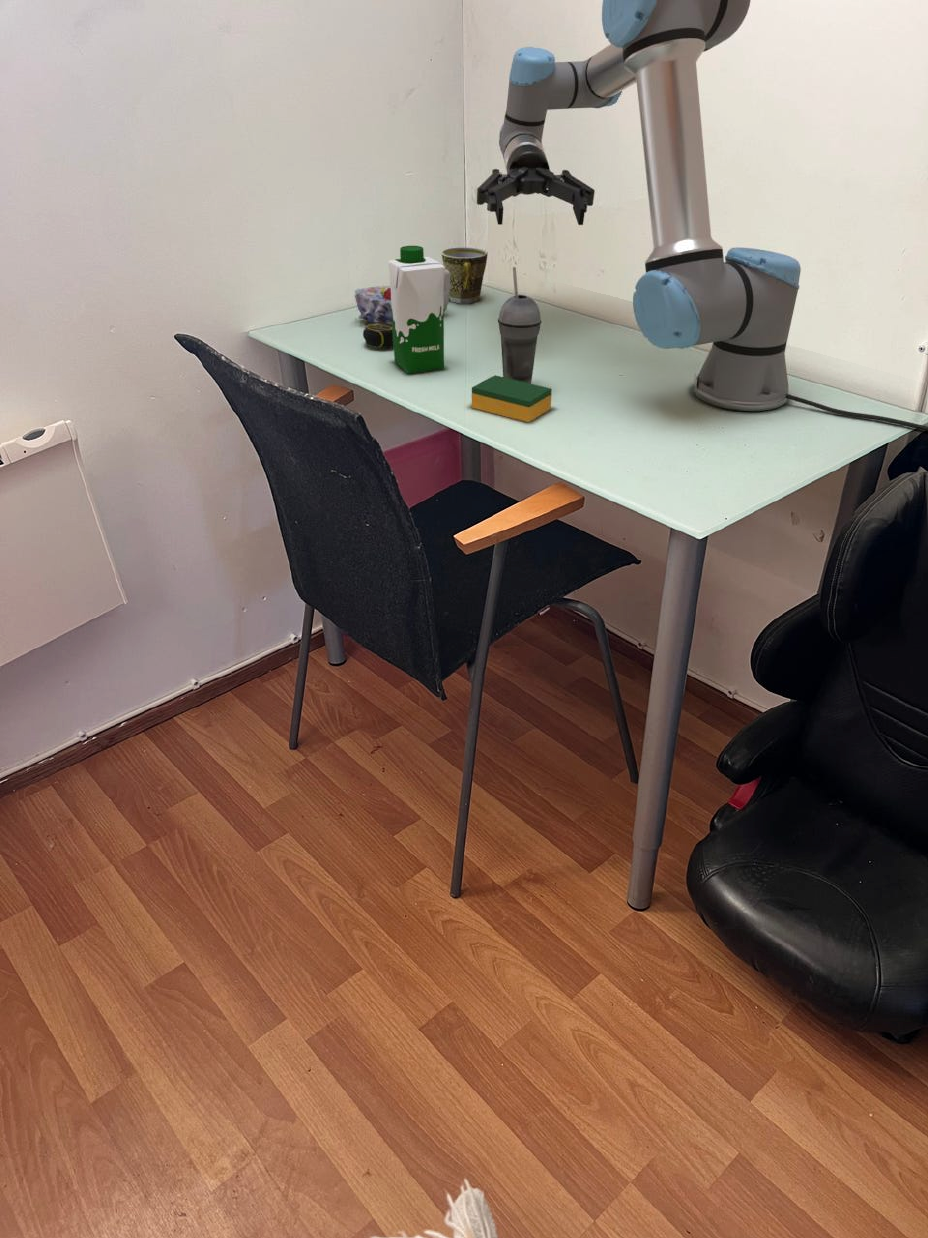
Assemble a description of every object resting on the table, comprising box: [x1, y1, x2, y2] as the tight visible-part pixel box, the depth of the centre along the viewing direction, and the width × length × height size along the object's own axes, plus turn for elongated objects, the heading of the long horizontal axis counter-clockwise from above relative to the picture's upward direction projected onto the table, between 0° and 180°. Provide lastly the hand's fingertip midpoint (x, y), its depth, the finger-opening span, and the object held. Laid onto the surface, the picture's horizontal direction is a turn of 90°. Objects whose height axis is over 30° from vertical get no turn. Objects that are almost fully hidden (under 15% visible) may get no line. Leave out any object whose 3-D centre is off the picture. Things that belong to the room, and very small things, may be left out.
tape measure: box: [362, 322, 393, 349], centre depth 176 cm, size 7×7×4 cm
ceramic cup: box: [441, 246, 489, 305], centre depth 199 cm, size 13×10×10 cm
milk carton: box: [388, 245, 445, 375], centre depth 161 cm, size 9×9×20 cm
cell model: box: [354, 269, 450, 325], centre depth 188 cm, size 13×11×20 cm
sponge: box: [471, 375, 553, 423], centre depth 149 cm, size 11×7×4 cm, turn 55°
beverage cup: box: [497, 266, 543, 384], centre depth 152 cm, size 7×7×20 cm
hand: (541, 216), depth 152 cm, fingers open, 13 cm apart
